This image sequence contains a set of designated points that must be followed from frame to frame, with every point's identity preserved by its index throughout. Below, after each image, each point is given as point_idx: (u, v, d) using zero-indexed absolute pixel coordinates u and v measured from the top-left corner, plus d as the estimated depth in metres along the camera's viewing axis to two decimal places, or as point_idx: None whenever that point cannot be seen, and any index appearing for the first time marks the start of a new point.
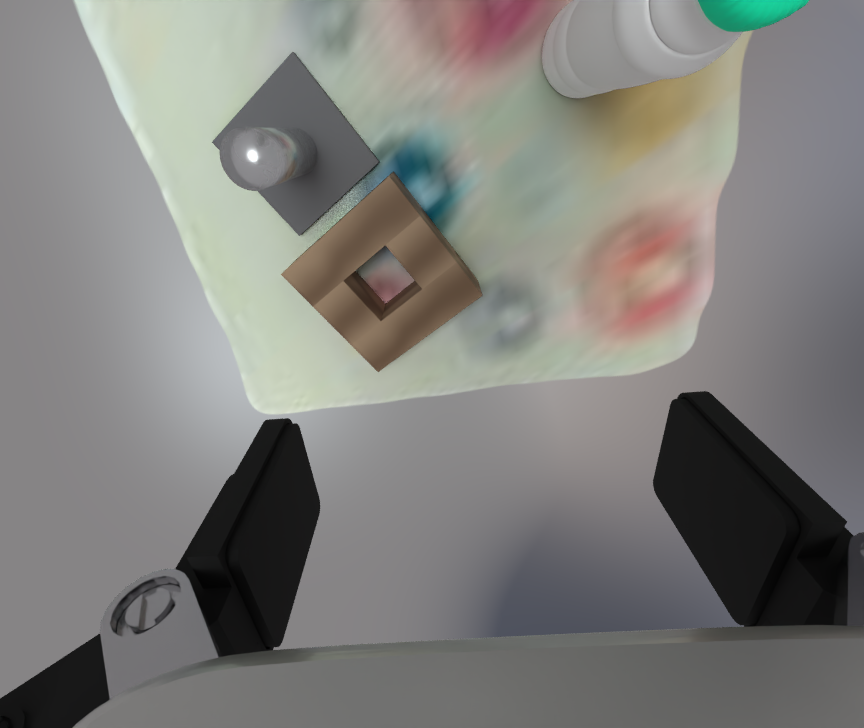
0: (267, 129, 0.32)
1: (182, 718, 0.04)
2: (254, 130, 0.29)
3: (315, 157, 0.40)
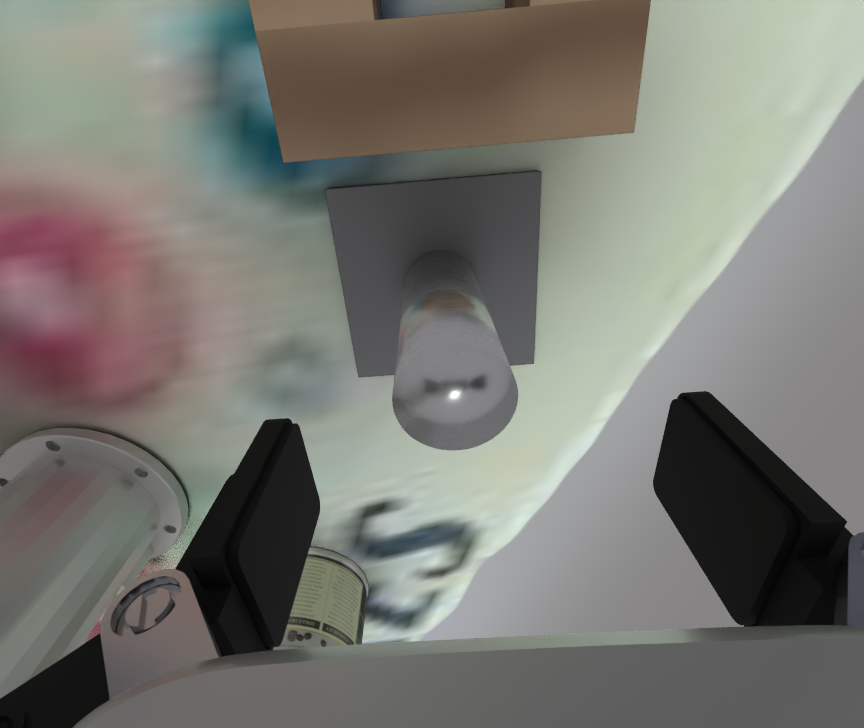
0: None
1: (182, 718, 0.04)
2: (405, 428, 0.14)
3: (414, 264, 0.23)
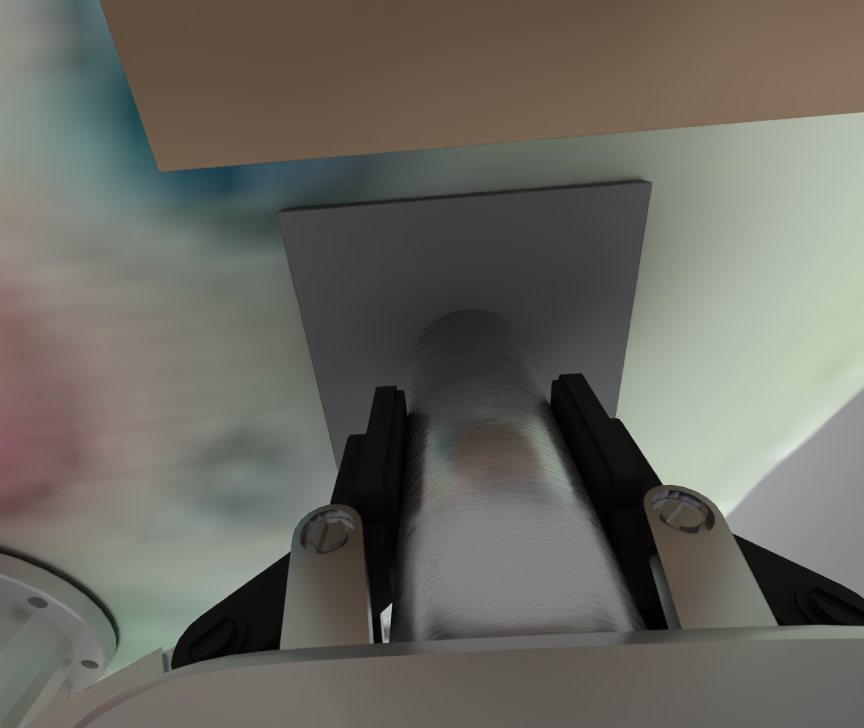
0: None
1: (181, 719, 0.04)
2: None
3: (428, 335, 0.14)
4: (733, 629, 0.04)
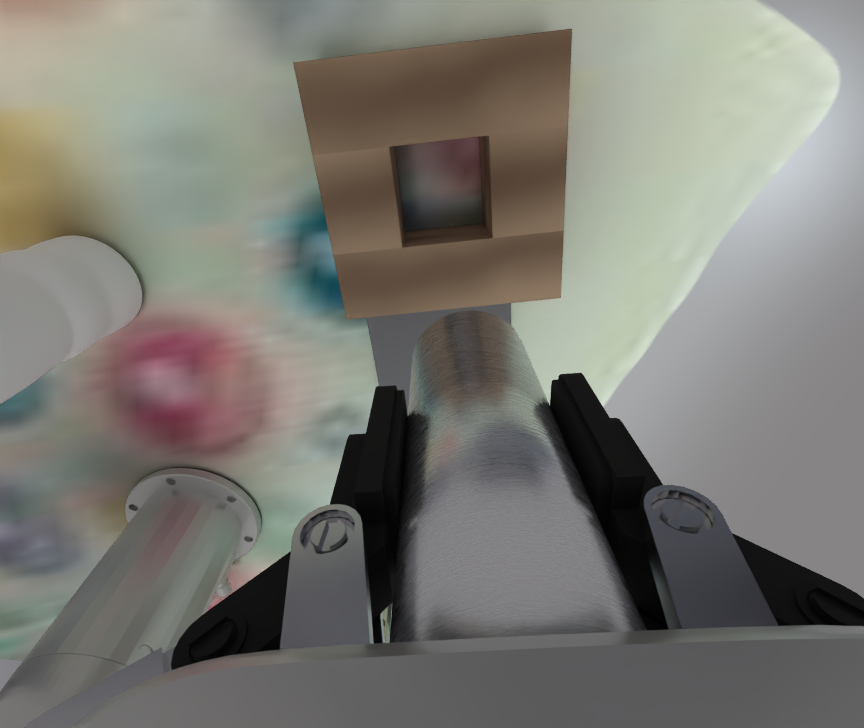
0: None
1: (181, 719, 0.04)
2: None
3: (428, 336, 0.14)
4: (733, 629, 0.04)
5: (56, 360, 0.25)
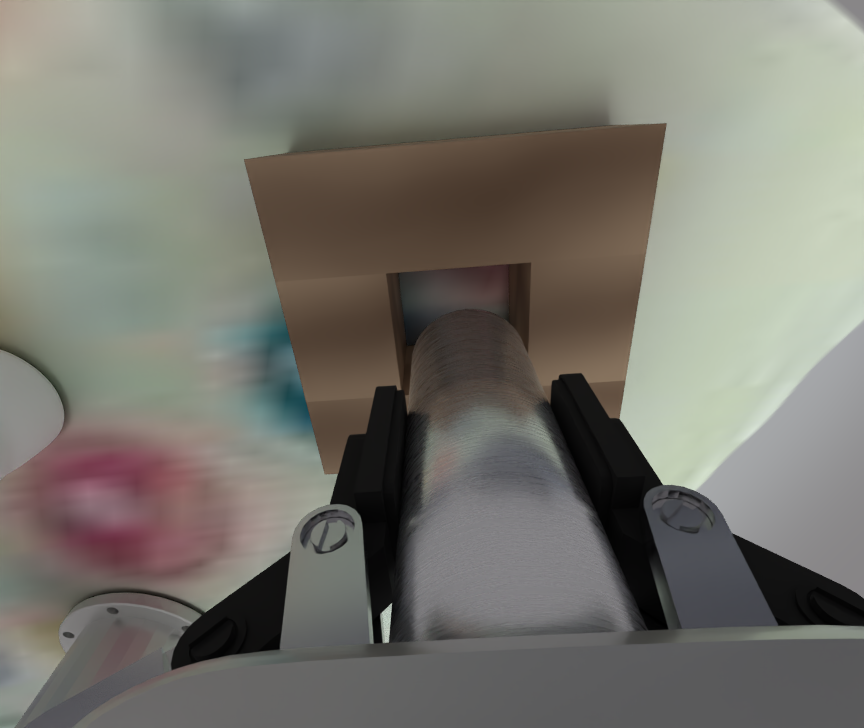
0: None
1: (181, 720, 0.04)
2: None
3: (428, 335, 0.14)
4: (733, 629, 0.04)
5: None
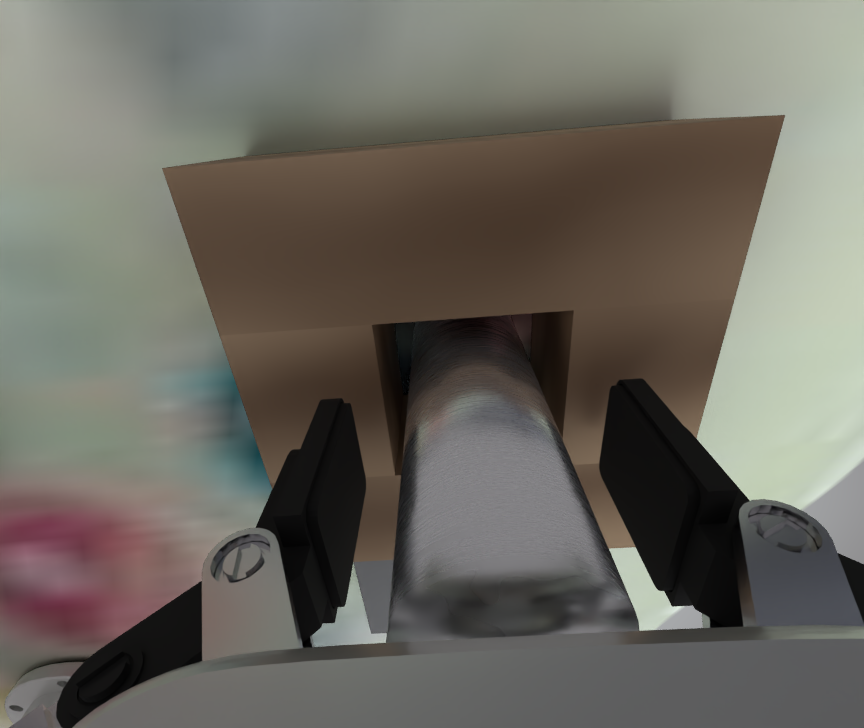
0: None
1: (182, 719, 0.04)
2: None
3: None
4: (733, 629, 0.04)
5: None
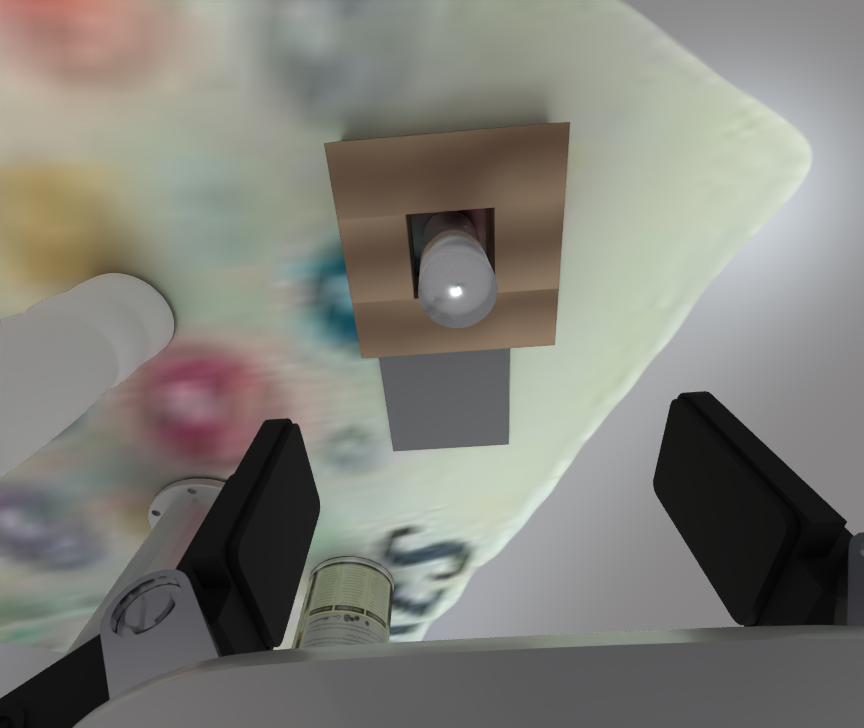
0: None
1: (182, 718, 0.04)
2: (426, 311, 0.22)
3: (430, 220, 0.31)
4: (733, 629, 0.04)
5: (104, 392, 0.28)
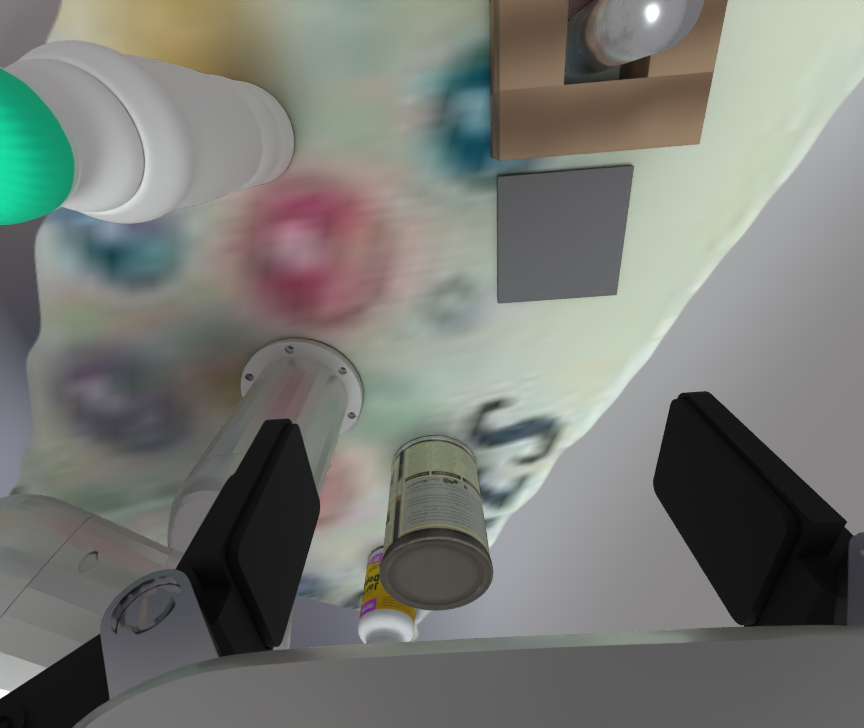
0: (604, 41, 0.24)
1: (180, 720, 0.04)
2: (624, 30, 0.22)
3: None
4: (732, 629, 0.04)
5: (250, 174, 0.28)
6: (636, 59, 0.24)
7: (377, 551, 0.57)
